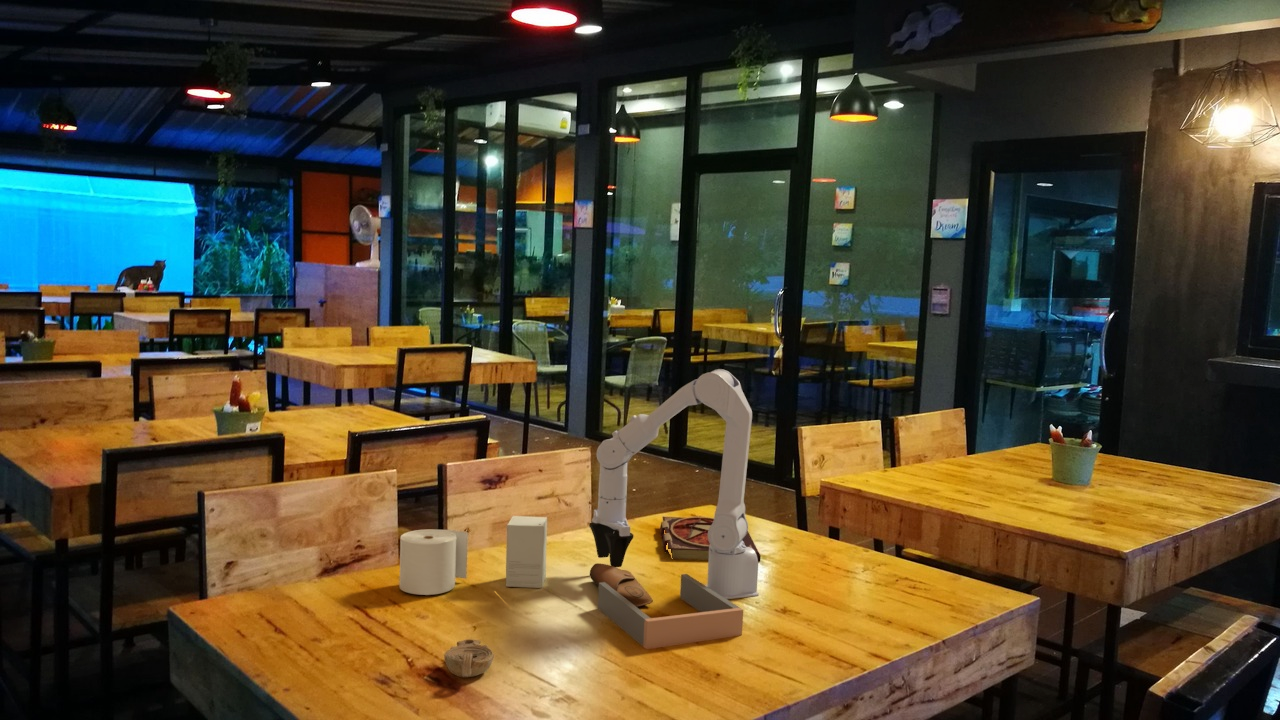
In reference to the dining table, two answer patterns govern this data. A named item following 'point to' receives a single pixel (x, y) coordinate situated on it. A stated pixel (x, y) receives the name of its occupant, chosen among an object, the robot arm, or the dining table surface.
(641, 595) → the sunglasses case
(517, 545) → the supplement box
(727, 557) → the robot arm
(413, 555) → the toilet tissue
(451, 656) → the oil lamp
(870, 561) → the dining table surface
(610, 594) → the open rectangular frame
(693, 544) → the book
